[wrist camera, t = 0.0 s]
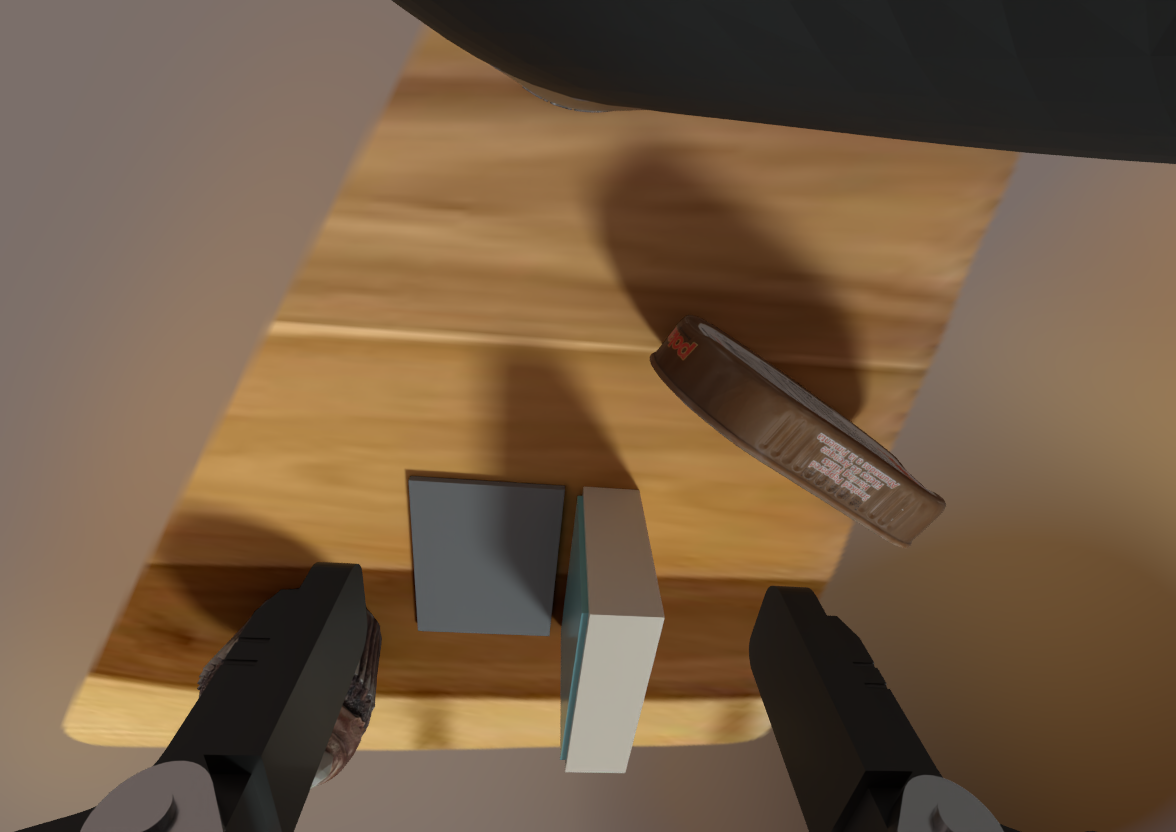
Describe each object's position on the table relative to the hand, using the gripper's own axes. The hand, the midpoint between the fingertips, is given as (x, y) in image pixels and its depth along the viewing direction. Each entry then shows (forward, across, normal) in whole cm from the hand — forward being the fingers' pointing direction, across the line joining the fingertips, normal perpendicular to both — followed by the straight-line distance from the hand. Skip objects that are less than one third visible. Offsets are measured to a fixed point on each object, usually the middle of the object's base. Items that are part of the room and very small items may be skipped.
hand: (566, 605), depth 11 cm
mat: (+18, +3, +15) cm, 24 cm away
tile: (+18, -3, +15) cm, 24 cm away
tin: (+18, -11, +2) cm, 21 cm away
